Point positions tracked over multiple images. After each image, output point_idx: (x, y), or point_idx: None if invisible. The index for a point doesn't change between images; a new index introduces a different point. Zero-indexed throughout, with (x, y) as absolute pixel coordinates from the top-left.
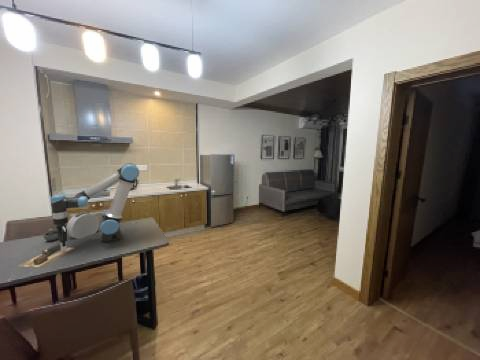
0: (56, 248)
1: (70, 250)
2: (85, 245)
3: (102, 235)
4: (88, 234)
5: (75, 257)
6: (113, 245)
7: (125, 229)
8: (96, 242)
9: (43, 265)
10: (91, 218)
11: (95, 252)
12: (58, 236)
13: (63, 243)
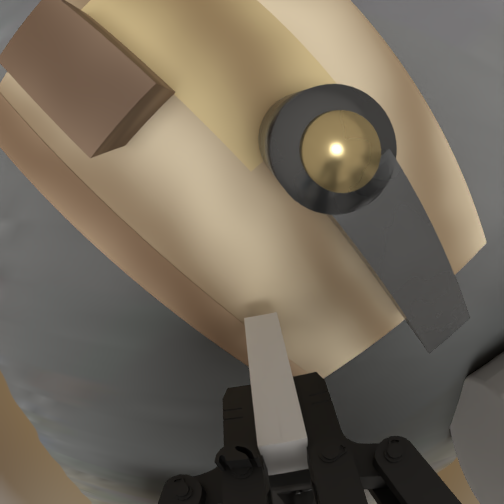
0: (378, 279)
1: None
2: None
3: (309, 502)
4: (459, 417)
5: (89, 358)
6: None
7: None
8: None
9: (3, 117)
10: (491, 501)
11: (118, 438)
12: (421, 499)
13: (226, 442)
